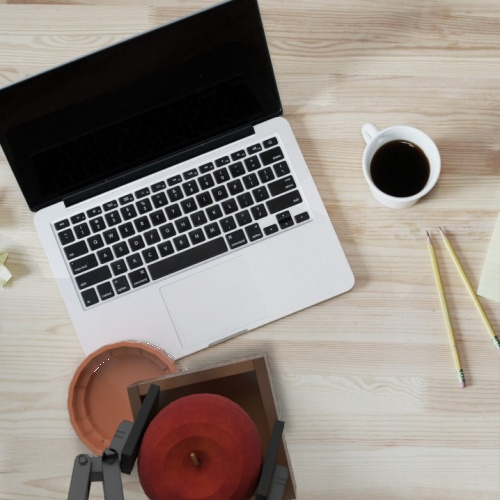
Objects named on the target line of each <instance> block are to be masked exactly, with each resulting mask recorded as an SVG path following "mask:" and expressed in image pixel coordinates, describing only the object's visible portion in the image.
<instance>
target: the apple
mask: <svg viewBox="0 0 500 500" xmlns="http://www.w3.org/2000/svg"><path fill="white" fill-rule="evenodd" d="M263 460H264V457H263V446H262V442H261V438H260V434H259V432H258V430H257V428H256V426H255V424H254V422H253V421H252V420H251V418H250V417H249V415H248V414H247V413H246V412H245V411H244V410H243V409H242V408H241V407H240V406H239V405H238V404H236V403H235V402H233V401H231V400H230V399H228V398H225V397H223V396H220V395H216V394H208V393H204V394H193V395H189V396H186V397H182V398H180V399H178V400H176V401H174V402H172V403H170V404H169V405H168V406H166V407H165V408H164V409H162V410H161V411H160V412H159V413H158V415H157V416H156V417H155V418H154V419H153V420H152V421H151V423H150V424H149V426H148V428H147V429H146V431H145V432H144V435H143V438H142V440H141V443H140V447H139V453H138V459H137V461H136V464H137V469H136V471H137V476H138V480H139V484H140V486H141V489H142V491H143V493H144V494H145V496H146V498H148V500H250V499H251V497H252V496H253V494H254V492H255V490H256V488H257V487H258V484H259V481H260V478H261V474H262V470H263Z"/></svg>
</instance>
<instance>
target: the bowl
mask: <svg viewBox="0 0 500 500" xmlns="http://www.w3.org/2000/svg"><path fill="white" fill-rule="evenodd" d="M137 341H138V340H134V341H125V340H121V341H117V342H112V343H113V344H112V343H108V344H105V345H103V346H101V347H100V348H98V349H96V350H95V351H93V352H91V353H90V354H88V355H87V356H86V358H85V359H84V360H83V361H82V362H81V363H80V364H79V366H78V367H77V368H76V369H75V372H74V374H73V376H72V379H71V380H70V384H69V386H68V394H67V403H66V404H67V406H66V407H67V411H68V417H69V421H70V425H71V427H72V428H73V430H74V432H75V434H76V436H77V437H78V440H79V441H80V442H81V443H82V444H83V445H84V446H86V447H87V448H88V449H89V450H90V451H91V452H92V453H93V454H95V455H97V456H98V457H99V456H102V452H103V450H104V449H106V448H108V447H109V446H110V443H111V441H112V439H113V437H114V435H115V432H116V430H117V428H118V426H119V424H120V423H121V422H122V421H123V420H127V421H130V422H134V421H133V416H132V411H131V407H130V402H129V397H128V392H127V386H129V385H131V384H133V383H135V382H137V381H141V380H145V379H150V378H154V377H159V376H163V375H168V374H172V373H177V372H181V371H182V369H181V367H180V365H179V364H178V362H177V360H176V359H174V358H173V356H171V355H170V354H169V353H168V352H167V351H166V350H165V349H163V348H161V347H160V346H157V345H154V344H153V343H150V342H148V341H143V340H140V341H141V342H137ZM145 342H146V343H145ZM147 343H149V344H147ZM150 344H151V345H150ZM152 345H153V346H152ZM154 346H155V347H154ZM157 347H158V348H157ZM159 348H160V349H159ZM162 350H163V351H162ZM168 355H169V356H170V357H171V358H170V357H169V356H168ZM108 359H109V360H108ZM103 362H104V363H103ZM100 364H101V365H100ZM98 367H99V368H98ZM97 368H98V369H97ZM96 369H97V370H96ZM95 370H96V371H95ZM94 371H95V372H94ZM137 459H138V457H137ZM136 462H137V460H136Z"/></svg>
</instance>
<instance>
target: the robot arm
mask: <svg viewBox="0 0 500 500" xmlns="http://www.w3.org/2000/svg"><path fill="white" fill-rule="evenodd" d="M159 395H160V386H158V385H155V384H151V385H150V388H149V390H148V392H147V394H146V397H145V399H144V401H143V404H142V406H141V408H140V411H139V413H138V415H137V417H136V420H135V422H130V421H127V420H123V421H122V422H121V423H120V424H119V426H118V428H117V430H116V432H115V435H114V437H113V439H112V441H111V443H110V446H109V447H108V448H106V449H104V450H103V452H102V456H99V455H98V456H90V455H89V454H88V453H79V454H77V456H75V458H74V461H73V466H72V473H71V477H70V483H69V487H68V492H67V493H68V494H67V498H66V500H90V494H91V488H92V483H99V482H100V483H102V490H103V491H102V492H103V498H104V499H103V500H125V494H124V488H123V481H122V480H123V479H122V474H125V475H128V476H131V474H132V472H133V469H134V467H135V464H136V463H137V461H136V460H137V457H138V453H139V447H140V443H141V440H142V438H143V435H144V432H145V431H146V429H147V428H148V426H149V424H150V423H151V421H152V420H153V418H154V416H155V414H156V411H157V409H158V406H159ZM285 424H286V421H283V420H282V421H280V420H276V421H275V424H274V428H273V432H272V435H271V439H270V443H269V446H268V450H267V454H266V458H265V462H264V466H263V470H262V474H261V478H260V481H259V485H258V489H257V493H256V497H255V500H283V496H284V491H285V487H286V482H287V478H288V469H287V467H285V466H282V465H278V464H275V462H276V458H277V454H278V450H279V445H280V441H281V437H282V433H283V429H285Z"/></svg>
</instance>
